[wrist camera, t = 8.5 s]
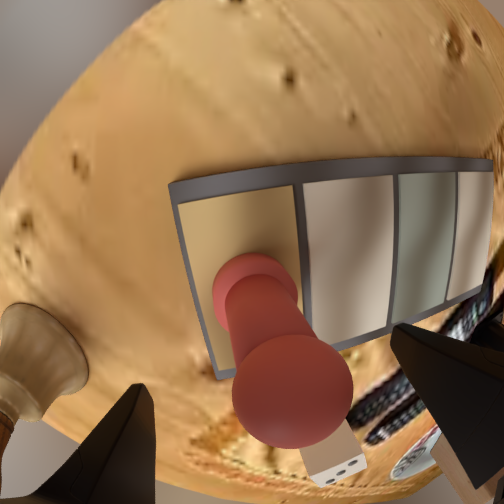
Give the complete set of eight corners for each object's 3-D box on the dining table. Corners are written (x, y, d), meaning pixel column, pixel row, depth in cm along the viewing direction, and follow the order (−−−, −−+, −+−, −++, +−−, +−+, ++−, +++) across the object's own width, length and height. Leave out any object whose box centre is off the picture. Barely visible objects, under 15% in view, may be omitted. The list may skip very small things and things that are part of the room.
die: (342, 414, 22) (364, 453, 17) (349, 433, 23) (367, 467, 19) (294, 435, 21) (309, 477, 17) (307, 452, 23) (320, 488, 18)
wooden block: (441, 431, 32) (491, 499, 13) (477, 403, 32) (527, 462, 14) (428, 452, 35) (469, 513, 16) (462, 428, 36) (503, 482, 17)
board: (484, 158, 16) (494, 160, 14) (473, 287, 20) (481, 292, 18) (170, 182, 13) (167, 184, 12) (216, 369, 17) (217, 382, 16)
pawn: (285, 245, 14) (393, 362, 5) (291, 313, 15) (368, 444, 7) (204, 261, 13) (216, 414, 5) (220, 329, 15) (247, 481, 6)
